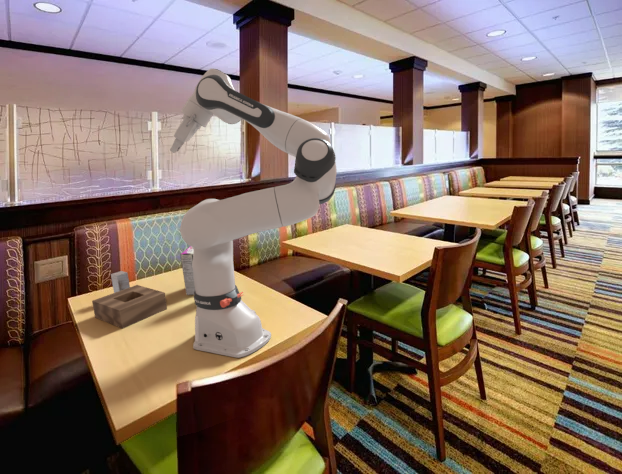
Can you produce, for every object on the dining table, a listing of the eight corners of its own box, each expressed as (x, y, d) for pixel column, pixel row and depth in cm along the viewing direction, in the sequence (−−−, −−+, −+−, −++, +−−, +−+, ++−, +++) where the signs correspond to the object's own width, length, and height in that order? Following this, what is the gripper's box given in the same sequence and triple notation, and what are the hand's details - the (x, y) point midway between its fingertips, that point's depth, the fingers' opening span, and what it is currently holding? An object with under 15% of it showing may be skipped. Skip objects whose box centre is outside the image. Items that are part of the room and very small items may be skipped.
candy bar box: (194, 284, 148) (189, 245, 144) (206, 284, 147) (202, 245, 144) (185, 295, 137) (179, 253, 133) (198, 295, 137) (193, 253, 133)
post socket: (167, 308, 126) (164, 292, 124) (122, 328, 113) (119, 310, 111) (139, 300, 134) (137, 284, 133) (95, 317, 121) (91, 300, 120)
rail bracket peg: (131, 297, 137) (127, 272, 134) (121, 301, 133) (116, 275, 131) (125, 295, 139) (121, 270, 136) (115, 299, 136) (110, 274, 133)
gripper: (203, 120, 111) (179, 158, 112) (205, 122, 130) (184, 154, 132) (184, 107, 109) (160, 146, 110) (189, 111, 128) (168, 144, 129)
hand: (173, 151), depth 121 cm, fingers open, 8 cm apart
